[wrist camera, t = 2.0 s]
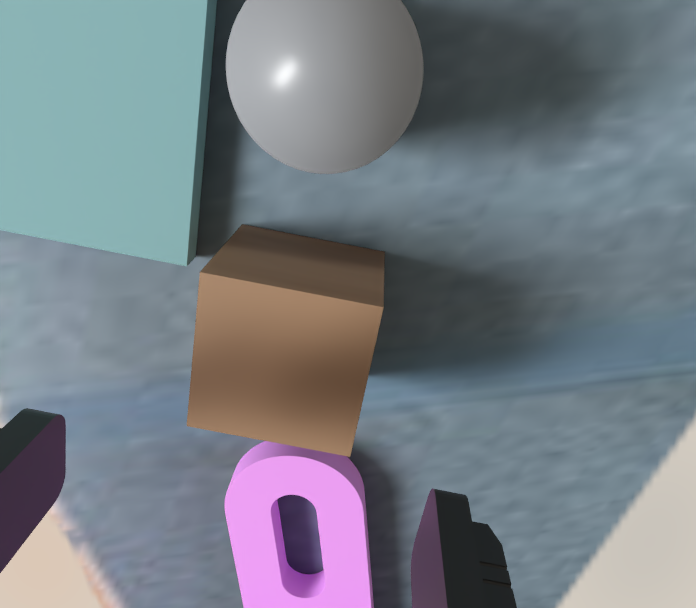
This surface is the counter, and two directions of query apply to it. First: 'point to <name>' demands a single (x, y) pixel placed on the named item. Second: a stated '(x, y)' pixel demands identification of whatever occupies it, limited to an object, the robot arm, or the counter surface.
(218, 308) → the walnut block
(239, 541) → the bracket
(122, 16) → the teal mat
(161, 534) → the counter surface
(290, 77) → the grey rounded part
